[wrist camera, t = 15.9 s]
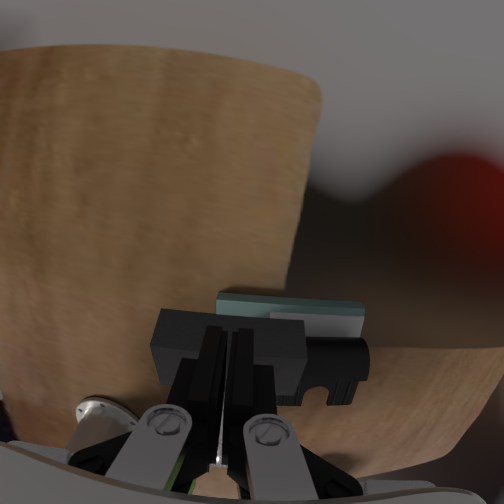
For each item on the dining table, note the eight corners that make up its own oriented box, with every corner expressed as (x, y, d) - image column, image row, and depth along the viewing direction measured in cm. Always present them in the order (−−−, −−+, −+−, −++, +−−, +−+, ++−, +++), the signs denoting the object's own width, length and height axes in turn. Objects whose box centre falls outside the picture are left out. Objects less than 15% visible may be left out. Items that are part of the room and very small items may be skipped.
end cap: (357, 324, 36) (375, 357, 29) (345, 372, 38) (358, 408, 31) (272, 321, 35) (275, 356, 29) (266, 371, 37) (268, 409, 31)
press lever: (263, 441, 23) (263, 473, 21) (191, 435, 23) (187, 467, 21) (302, 311, 14) (308, 369, 11) (164, 300, 14) (146, 356, 11)
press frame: (342, 373, 40) (373, 464, 25) (215, 368, 40) (199, 464, 25) (360, 301, 37) (414, 383, 22) (218, 292, 37) (196, 380, 22)
